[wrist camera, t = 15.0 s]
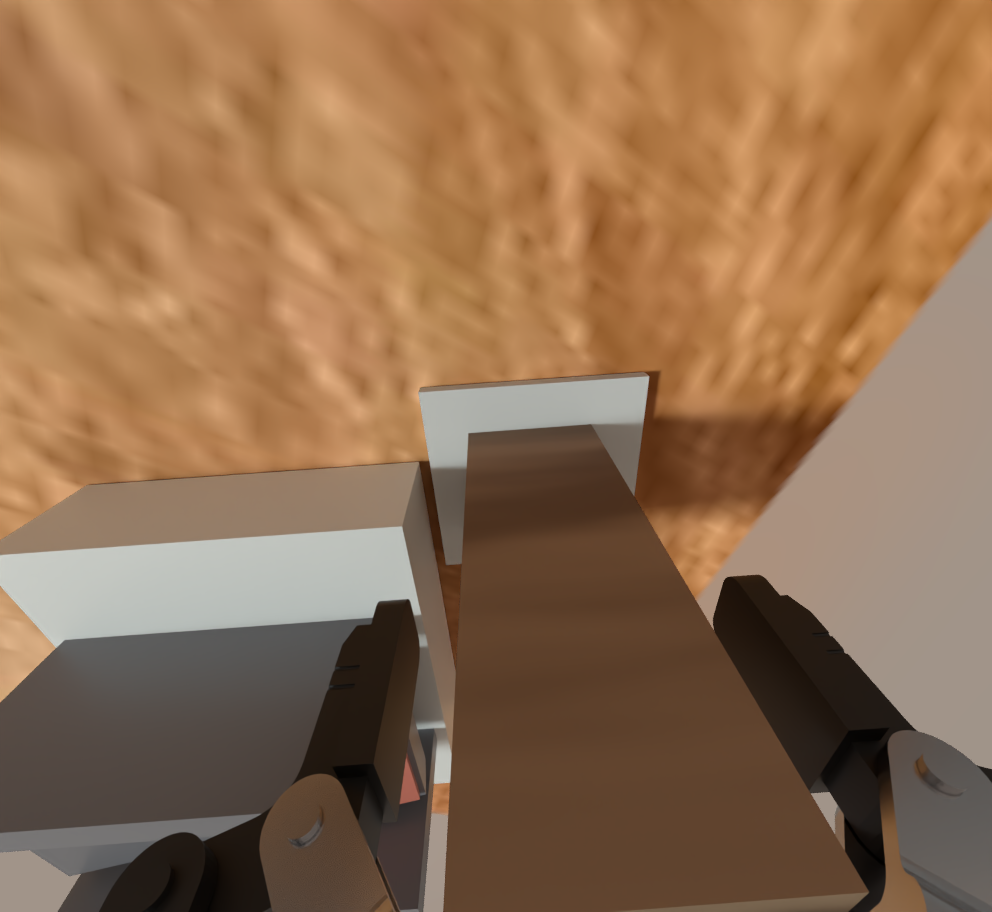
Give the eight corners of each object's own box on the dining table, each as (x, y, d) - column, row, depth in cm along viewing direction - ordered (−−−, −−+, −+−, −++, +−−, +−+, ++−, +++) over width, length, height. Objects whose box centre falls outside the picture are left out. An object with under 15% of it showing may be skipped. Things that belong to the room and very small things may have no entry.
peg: (468, 433, 15) (442, 925, 4) (591, 424, 15) (868, 891, 4) (478, 530, 17) (478, 1014, 6) (585, 522, 17) (761, 992, 6)
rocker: (5, 760, 12) (-40, 817, 11) (404, 682, 14) (403, 725, 12) (94, 830, 15) (64, 884, 13) (425, 758, 16) (426, 801, 15)
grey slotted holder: (86, 485, 16) (-344, 759, 8) (418, 461, 16) (354, 707, 8) (237, 716, 23) (106, 977, 15) (460, 700, 24) (450, 951, 15)
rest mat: (420, 387, 14) (418, 392, 14) (644, 371, 14) (649, 376, 14) (446, 557, 18) (446, 565, 18) (623, 544, 18) (627, 552, 18)
